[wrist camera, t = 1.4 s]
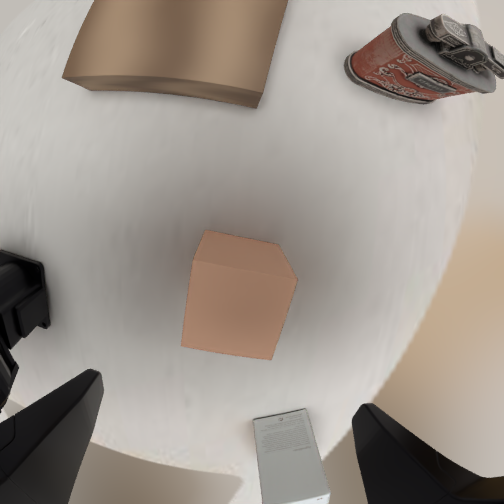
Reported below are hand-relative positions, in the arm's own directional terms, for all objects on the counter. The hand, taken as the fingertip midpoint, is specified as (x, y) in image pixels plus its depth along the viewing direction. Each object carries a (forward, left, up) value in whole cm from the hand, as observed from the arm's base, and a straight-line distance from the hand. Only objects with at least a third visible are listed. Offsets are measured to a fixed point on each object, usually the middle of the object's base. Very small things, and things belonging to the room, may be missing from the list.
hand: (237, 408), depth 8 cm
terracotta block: (0, 0, -12) cm, 12 cm away
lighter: (+8, +17, -12) cm, 22 cm away
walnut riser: (-7, +17, -12) cm, 22 cm away
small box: (+9, -18, -12) cm, 24 cm away
